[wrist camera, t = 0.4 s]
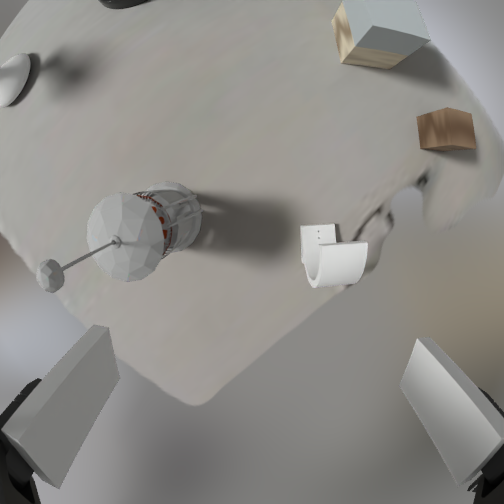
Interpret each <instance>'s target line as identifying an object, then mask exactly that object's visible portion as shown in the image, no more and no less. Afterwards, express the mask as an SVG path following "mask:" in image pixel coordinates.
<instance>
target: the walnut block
mask: <svg viewBox="0 0 504 504" xmlns="http://www.w3.org/2000/svg"><path fill="white" fill-rule="evenodd" d="M417 124H418V131H419V139H420V149H429V150H439V151H451V150H465V149H476V142H475V134H474V127H473V120H472V114H471V113H467V112H463V111H460V110H456V109H452V108H444V109H441V110H437V111H434V112H431V113H427V114H424V115H421V116H418V117H417Z"/></svg>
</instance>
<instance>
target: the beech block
mask: <svg viewBox="0 0 504 504" xmlns="http://www.w3.org/2000/svg"><path fill="white" fill-rule="evenodd" d="M331 22H332V26H333V30H334V34H335V38H336V42H337V46H338V51H339V55H340V60H341V63H343V64H354V65H363V66H370V67H378V68H384V69H391V68H392V67H394V66H395V65H396V64H398V63H399V62H401V61H402V60H403V59H405V58H406V57H408V56H406V55H402V54H397V53H392V52H387V51H382V50H376V49H370V48H363V47H355V45H354V41H353V37H352V33H351V29H350V26H349V22H348V19H347V15H346V12H345V9H344V6H343V2H342V3H341V5H340V7H339V8H338V10H337V12H336V14H335V16H334V18H333V19H332V21H331Z"/></svg>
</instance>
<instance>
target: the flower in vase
mask: <svg viewBox="0 0 504 504" xmlns="http://www.w3.org/2000/svg"><path fill="white" fill-rule="evenodd" d="M29 72H30V59H29V56H28V55H27V54H18V55H15V56H14V57H12V58H11V59H9V60H8V61H7V62H6V63H5V64H4V65H3V66H1V67H0V108H3V107H6V106H8V105H9V104H11V103H12V102H13V101H14V100H15V99H16V98H17V96H18V95H19V94H20V92H21V91H22V89H23V87H24V85H25V83H26V81H27V78H28V75H29Z"/></svg>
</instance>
